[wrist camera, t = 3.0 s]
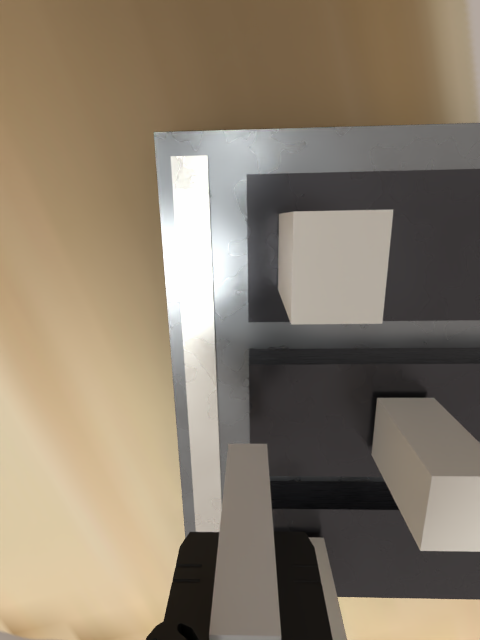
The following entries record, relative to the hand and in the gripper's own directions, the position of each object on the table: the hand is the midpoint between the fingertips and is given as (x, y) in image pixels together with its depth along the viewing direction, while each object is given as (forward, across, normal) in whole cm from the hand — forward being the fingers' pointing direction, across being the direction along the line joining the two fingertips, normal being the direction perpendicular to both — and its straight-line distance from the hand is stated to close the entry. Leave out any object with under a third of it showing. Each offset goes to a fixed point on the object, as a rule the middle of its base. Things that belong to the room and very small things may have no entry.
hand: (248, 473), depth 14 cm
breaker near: (+3, +3, +8) cm, 9 cm away
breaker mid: (+3, +7, 0) cm, 8 cm away
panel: (+8, +7, 0) cm, 10 cm away
